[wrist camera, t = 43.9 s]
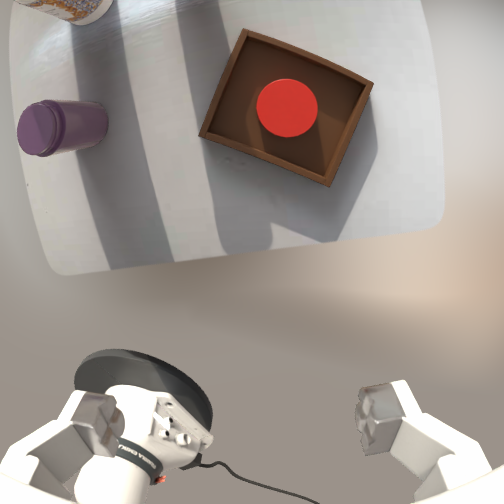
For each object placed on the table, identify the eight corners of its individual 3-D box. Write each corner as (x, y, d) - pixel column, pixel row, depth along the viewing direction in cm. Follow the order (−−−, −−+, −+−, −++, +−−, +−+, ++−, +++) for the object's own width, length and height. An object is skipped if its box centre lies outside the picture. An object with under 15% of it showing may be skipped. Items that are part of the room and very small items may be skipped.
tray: (368, 85, 29) (374, 83, 27) (325, 184, 34) (329, 187, 32) (244, 33, 28) (242, 28, 26) (201, 135, 32) (198, 136, 30)
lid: (251, 86, 30) (250, 84, 28) (309, 77, 29) (311, 75, 27) (262, 141, 32) (262, 142, 30) (319, 132, 31) (322, 133, 29)
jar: (117, 121, 31) (66, 124, 22) (88, 157, 33) (35, 171, 23) (89, 92, 30) (35, 87, 20) (62, 127, 32) (6, 134, 22)
